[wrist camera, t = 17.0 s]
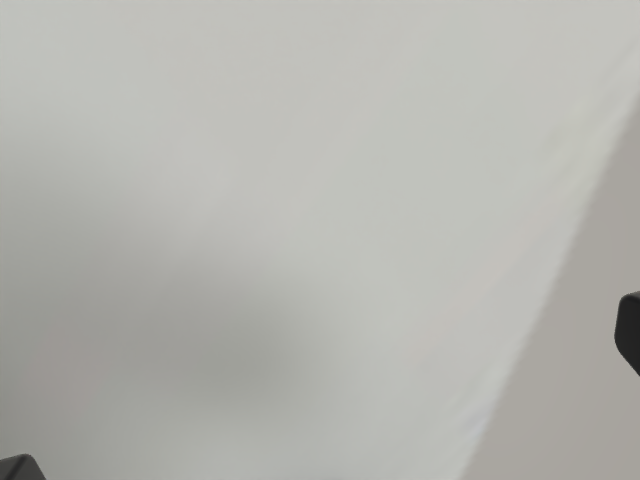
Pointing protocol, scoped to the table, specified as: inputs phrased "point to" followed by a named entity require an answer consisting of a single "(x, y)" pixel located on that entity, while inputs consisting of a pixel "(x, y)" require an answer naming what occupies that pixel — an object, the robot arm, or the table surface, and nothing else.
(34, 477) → the robot arm
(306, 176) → the table surface
